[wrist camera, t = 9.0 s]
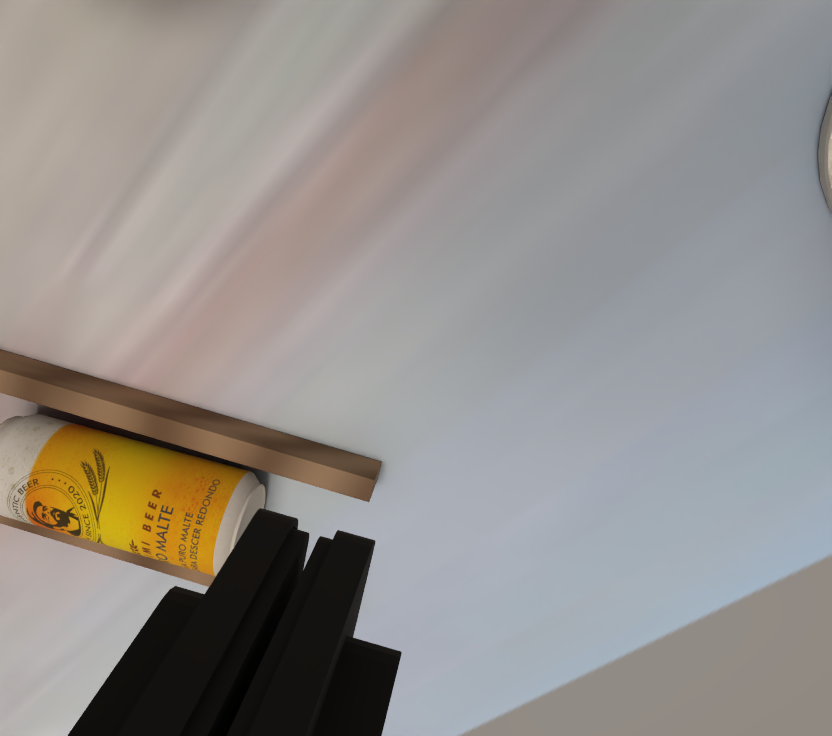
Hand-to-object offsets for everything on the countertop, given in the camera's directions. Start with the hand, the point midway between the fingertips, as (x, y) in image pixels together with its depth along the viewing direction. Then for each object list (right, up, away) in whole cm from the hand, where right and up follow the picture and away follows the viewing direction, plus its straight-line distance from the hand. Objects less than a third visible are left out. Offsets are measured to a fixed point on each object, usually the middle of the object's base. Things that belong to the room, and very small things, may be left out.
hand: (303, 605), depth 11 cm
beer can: (-8, -6, +32) cm, 34 cm away
